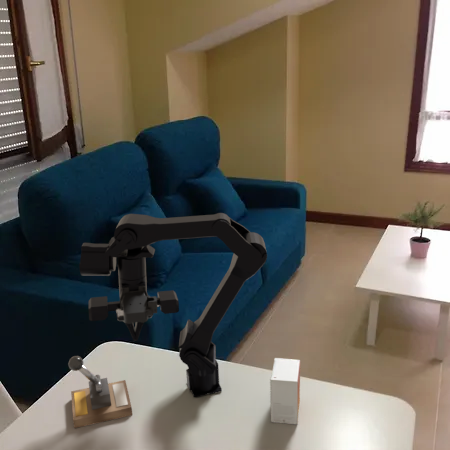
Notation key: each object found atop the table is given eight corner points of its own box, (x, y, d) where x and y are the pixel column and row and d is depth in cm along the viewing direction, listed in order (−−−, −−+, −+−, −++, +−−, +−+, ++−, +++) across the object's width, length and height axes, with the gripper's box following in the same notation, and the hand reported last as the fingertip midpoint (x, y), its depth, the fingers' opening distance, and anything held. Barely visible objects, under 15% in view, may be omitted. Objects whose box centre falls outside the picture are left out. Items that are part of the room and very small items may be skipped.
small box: (297, 425, 110) (298, 382, 106) (270, 422, 111) (269, 379, 107) (300, 400, 117) (300, 359, 113) (274, 397, 118) (274, 356, 115)
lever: (104, 374, 118) (76, 348, 114) (106, 387, 114) (77, 361, 110) (93, 383, 118) (65, 357, 114) (95, 396, 113) (65, 370, 109)
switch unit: (126, 387, 124) (123, 368, 122) (132, 414, 115) (130, 395, 113) (72, 398, 120) (69, 380, 119) (74, 428, 111) (71, 408, 110)
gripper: (86, 295, 103) (91, 365, 109) (182, 287, 108) (183, 355, 113) (86, 272, 114) (91, 337, 119) (174, 265, 118) (175, 328, 123)
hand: (135, 339), depth 118 cm, fingers closed
